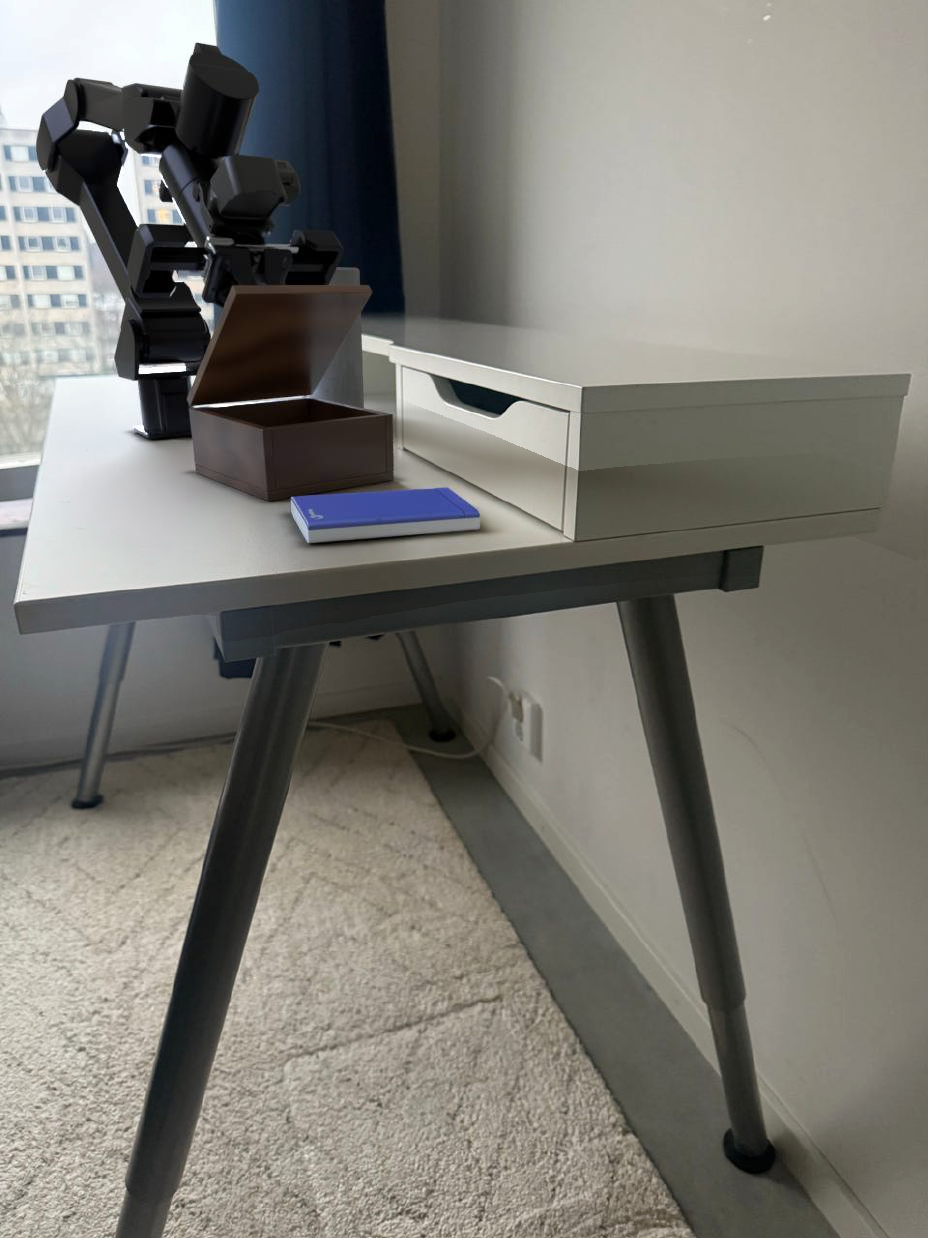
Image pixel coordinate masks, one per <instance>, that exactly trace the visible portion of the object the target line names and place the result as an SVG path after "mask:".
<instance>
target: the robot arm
mask: <svg viewBox="0 0 928 1238" xmlns="http://www.w3.org/2000/svg"><path fill="white" fill-rule="evenodd" d="M187 63H188V64H187V67H186V71H185V75H184V81H183V84H182V88H174V87H168V86H167V87H166V86H159V85H155V84H146V83H138V82H134V83H131V84H127V85H124V86H122V87H121V86H118V85H115V84H113V82H111V81H105V80H98V79H91V78H84V77H74V78H73V79H67V81H66V84H65V87H64V92H63V96H62V97H61V98H59V100H57V101H56V102H55V103H53V104H52V105H51V106H50V107H49V108H48V109H47V110H45V111H44V112H43V113H42V114H41V117H40V120H39V121H40V122H39V127H38V131H37V136H36V142H35V151H36V158H37V162H38V166H39V168H40V169H41V171H42V172H44V174H45V175H46V178H47V179H48V181H49V182H50V184H51V185H52V187H53V189H54V190H55V192H56V193H57V194H58V195H60V196H62V197H63V198H64V199H66V200H67V201H69V202H71V203H72V204H74V205H75V206H77V207H78V208H79V209H80V211H81V213H82V216H83V217H84V220H85V222H86V224H87V226H88V228H89V229H90V232H91V234H92V237H93V239H94V241H95V243H96V245H97V247H98V249H99V251H100V254H101V255H102V258H103V259H104V262H105V264H106V266H107V268H108V270H109V272H110V275H111V277H112V278H113V280H114V283H115V285H116V287H117V289H118V291H119V294H120V295H121V298H122V299H123V302H124V307H123V312H122V318H121V322H120V331H119V335H118V339H117V343H116V347H115V352H114V355H113V360H114V364H115V368H116V370H117V376H118V377H119V378H122V379H125V380H129V381H133V382H136V384H137V385H136V386H137V391H138V399H139V408H140V415H141V423H142V425H133V431H134V432H136V433H138V434H140V435H142V436H143V437H145V438H147V439H151V440H153V439H161V438H164V439H165V438H171V437H184V436H192V432H191V422H190V413H189V408H195V406H190V405H189V403H188V401H187V397H188V395H189V392H190V390H191V388H192V385H193V383H192V377H196V375H197V373H198V370H199V368H200V365H201V363H202V360H203V358H204V355H205V353H206V350H207V348H208V345H209V343H210V340H211V338H212V334H211V332H210V328H209V325H208V323H207V321H206V319H204V317H203V315H202V314H201V312H202V308H201V306H200V305H198V302H197V301H196V300H195V297H194V295H193V293H192V290H191V287H190V286H189V285H188V284H187V283H186V282H185V281H179V280H177V281H175V280H174V278H173V276H174V273H176V274H177V276H179V277H200V278H202V281H203V284H204V285H203V289H202V293H201V299H202V301H203V302H204V303H206V304H214V305H216V306H217V307H219V308H221V309H222V310H223V308H224V306H225V303H226V301H227V298H228V296H229V293H230V291H231V288H232V286H252V285H329V283H330V281H331V279H332V277H333V275H334V273H335V271H336V268H337V267H338V266H339V264H340V261H342V258H343V255H344V254H345V250H344V247H343V246H342V244H341V242H340V240H339V239H338V237H337V236H336V233H335V231H334V230H332V231H331V230H309V229H297V230H293V233H292V235H291V237H290V240H289V243H287V244H283V243H267V242H266V238H267V237H271V236H272V235H273V233H274V230H275V227H276V224H275V222H274V221H273V219H272V216H273V215H274V213H275V212H276V211H277V209H278V208H279V207H280V206H284V207H290V206H291V205H292V204H293V203H294V201H295V200H296V199H297V198H298V196H300V193H301V184H300V180H299V177H298V174H297V172H296V170H295V169H294V167H293V166H292V164H291V163H290V162H289V160H283V159H275V158H273V157H267V156H266V157H265V156H257V155H256V156H255V155H246V154H241V150H242V146H243V143H244V140H245V137H246V134H247V132H248V131H247V130H248V128H249V124H250V121H251V118H252V115H253V112H254V109H255V105H256V101H257V98H258V95H259V91H260V83H259V81H258V78H257V77H256V75H255V74H254V73H253V72H251V71H249V70H248V69H247V68H246V67H245V66H243V65H242V64H241V63H239V62H238V61H236V60H234V59H233V58H231V57H229V56H227V55H225V54H223V52H222V51H221V49H220V48H219V46H218V45H214V44H208V43H202V42H195V43H194V47H193V51H192V54H191V55H190V57H189V59H188V62H187ZM80 123H89V124H90V123H91V124H94V125H98V126H100V127H103V128H106V129H109V130H111V132H110V133H109V132H108V131H105V130H98V129H89V128H80V127H79V126H80ZM78 127H79V128H78ZM128 147H130V149H132V150H133V151H134V152H136V153H137V154H138V155H139V156H146V157H147V156H148V157H157V158H159V160H158V172H159V175H160V177H161V179H160V183H159V187H158V197H159V201H160V202H161V203H171V204H175V207H176V209H177V211H178V213H179V215H180V217H181V219H182V221H183V224H166V223H165V224H164V223H139V224H138V223H137V221H136V219H135V217H134V214H133V213H132V211H131V209H130V207H129V205H128V203H127V201H126V198H125V197H124V194H123V192H122V190H121V188H120V185H121V178H122V174H123V168H124V166H125V163H126V160H127V157H128V155H129V148H128ZM188 243H194V245H195V246H187V244H188ZM180 364H184V366H168V367H151V368H140V366H144V367H145V366H163V365H164V366H165V365H180Z"/></svg>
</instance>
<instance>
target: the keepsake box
mask: <svg viewBox="0 0 928 1238" xmlns="http://www.w3.org/2000/svg"><path fill="white" fill-rule="evenodd" d="M189 413H190V422H191V432H192V435H191V439H192V449H193V459H194V467H195V473H197V474H199V475H203V476H205V477H207V478H209V479H212V480H215V481H216V482H219V483H222V484H225V485H226V486H230V487H232V488H235V489H236V490H239V491H242V492H244V493H246V494H249V495H252V496H254V497H257V498H259V499H261V500H264V501H266V502H274V501H277V500H278V501H279V500H284V499H291V497H297V496H310V495H315V494H319V493H326V492H331V491H336V490H343V489H347V488H348V489H349V488H354V487H361V486H367V485H371V484H378V483H383V482H389V481H393V480H395V462H394V458H395V456H394V414H392V413H388V412H384V411H378V410H374V409H369V408H365V407H364V408H360V407H356V406H351V405H347V404H342V403H337V402H333V401H328V400H323V399H319V398H314V397H307V396H303V397H292V398H281V399H270V400H260V401H249V402H238V403H227V404H217V405H206V406H198V407H196V406H195V407H194V408H189Z"/></svg>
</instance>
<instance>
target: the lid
mask: <svg viewBox="0 0 928 1238" xmlns="http://www.w3.org/2000/svg"><path fill="white" fill-rule="evenodd" d="M372 294H373V290H372V289H371V286H370V285H369V284H360V285H252V286H232V288H231V291H230V293H229V296H228V298H227V301H226V303H225V306H224V308H223V309H222V311H221V313H220V316H219V317H218V321H217V323H216V325H215V328H214V331H213V332H212V334H211V340H210V343H209V345H208V348H207V350H206V353H205V355H204V358H203V360H202V363H201V365H200V368H199V370H198V373H197V375H196V376H195V377H194V380H193V383H192V388H191V390H190V392H189V395H188V397H187V401H188V403H189V405H190V406H194V407H196V406H198V407H200V406H211V405H221V404H232V403H243V402H254V401H265V400H276V399H287V398H298V397H307V396H308V395H312V394H313V393H314V391H315V389H316V388H317V386H318V384H319V383H320V381H321V379H322V377H323V376H324V374H325V372H326V371H327V369H328V367H329V366H330V364H331V362H332V360H333V359H334V357H335V355H336V354H337V352H338V350H339V349H340V347H341V345H342V343H343V342H344V340H345V338H346V337H347V335H348V333H349V332H350V330H351V328H352V326H353V325H354V323H355V321H356V320H357V318H358V316H359V314H360V313H361V314H362V311H363V310H364V308H365V306H366V304H367V303H368V301H369V299H370V297H371V296H372Z"/></svg>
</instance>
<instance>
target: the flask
mask: <svg viewBox="0 0 928 1238" xmlns="http://www.w3.org/2000/svg"><path fill="white" fill-rule="evenodd" d="M360 274H361V273H360V269H359V268H358V267H347V266H346V267H342V266H341V267H340V266H339V267H338V266H337V268H336V271H335V273H334V275H333V277H332V279H331V281H330V283H329V285H361V277H360ZM362 333H363V332H362V312H361V313H360V314H359V316H358V318H357V320H356V321H355V323H354V325H353V326H352V328H351V330H350V332H349V333H348V335H347V337H346V338H345V340H344V342H343V343H342V345H341V347H340V349H339V350H338V352H337V354H336V355H335V357H334V359H333V360H332V362H331V364H330V366H329V367H328V369H327V371H326V372H325V374H324V376H323V377H322V379H321V381H320V383H319V384H318V386H317V388H316V389H315V391H314V393H313V394H312V395H308V396H306V397H314V398H319V399H323V400H328V401H333V402H337V403H342V404H347V405H351V406H356V407H360V408H365V397H364V396H365V395H364V394H365V393H364V367H363V366H364V364H363V339H362V338H363V335H362Z"/></svg>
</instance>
